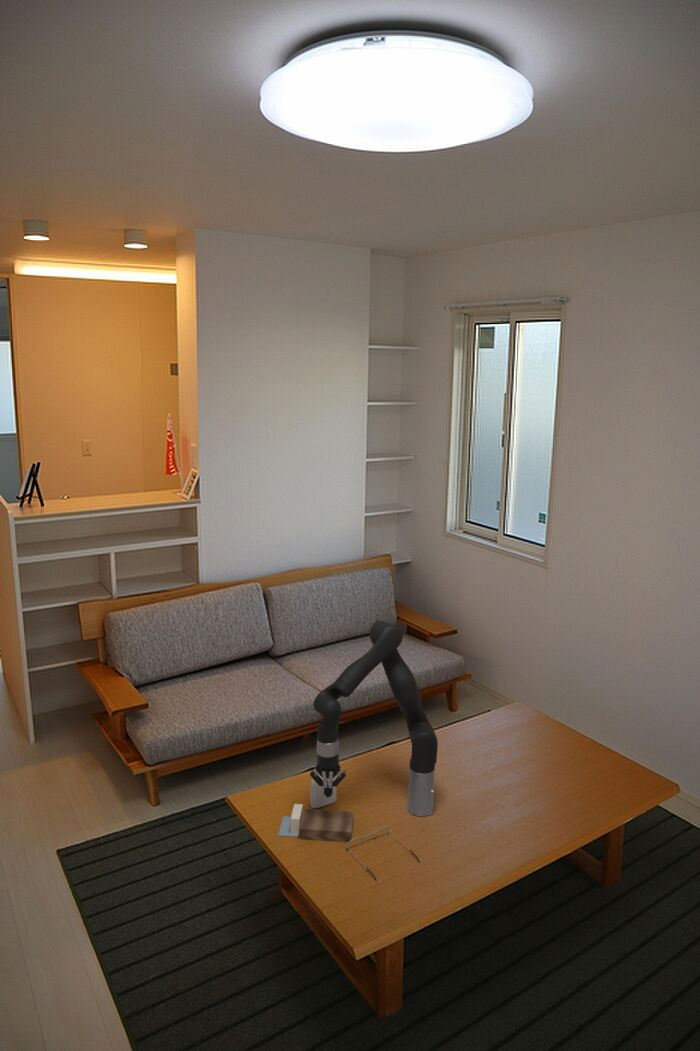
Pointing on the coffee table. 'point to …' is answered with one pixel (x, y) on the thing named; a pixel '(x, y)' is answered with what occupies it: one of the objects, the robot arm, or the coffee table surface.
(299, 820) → the cream rectangular block
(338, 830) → the brown flat block
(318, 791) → the photo printer
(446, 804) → the coffee table surface
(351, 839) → the eyeglasses
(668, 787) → the coffee table surface
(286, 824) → the mat
